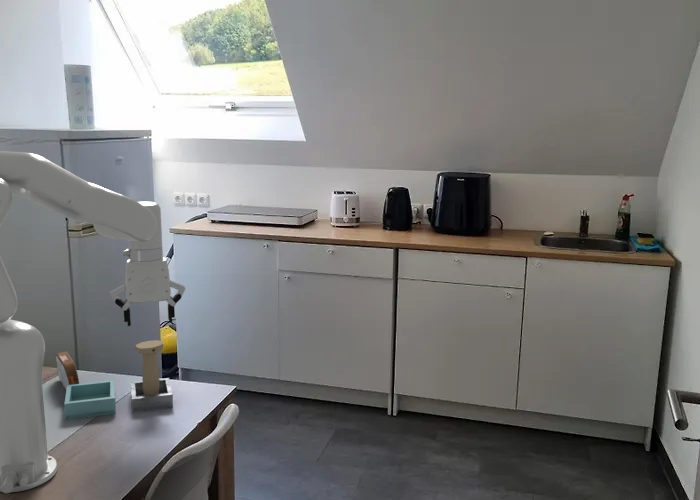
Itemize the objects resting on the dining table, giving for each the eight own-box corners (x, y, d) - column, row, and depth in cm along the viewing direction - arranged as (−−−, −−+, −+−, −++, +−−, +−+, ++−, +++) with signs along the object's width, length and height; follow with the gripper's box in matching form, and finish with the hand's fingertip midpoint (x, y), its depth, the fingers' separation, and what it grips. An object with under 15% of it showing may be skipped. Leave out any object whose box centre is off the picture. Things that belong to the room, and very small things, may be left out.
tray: (115, 413, 154) (114, 398, 153) (65, 419, 150) (64, 403, 149) (115, 394, 164) (114, 379, 163) (68, 400, 160) (67, 385, 159)
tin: (81, 396, 163) (79, 364, 161) (67, 399, 161) (65, 367, 159) (68, 375, 175) (66, 346, 173) (55, 378, 173) (53, 348, 171)
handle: (135, 401, 161) (132, 344, 158) (159, 394, 165) (157, 338, 162) (143, 408, 157) (140, 349, 154) (168, 401, 161) (166, 344, 158)
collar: (173, 407, 158) (172, 394, 157) (132, 412, 155) (131, 399, 154) (169, 390, 167) (168, 377, 167) (131, 395, 164) (130, 382, 163)
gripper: (107, 260, 147) (112, 331, 151) (185, 255, 153) (188, 323, 157) (107, 252, 154) (112, 320, 158) (182, 248, 160) (184, 314, 163)
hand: (149, 322), depth 157 cm, fingers open, 9 cm apart
